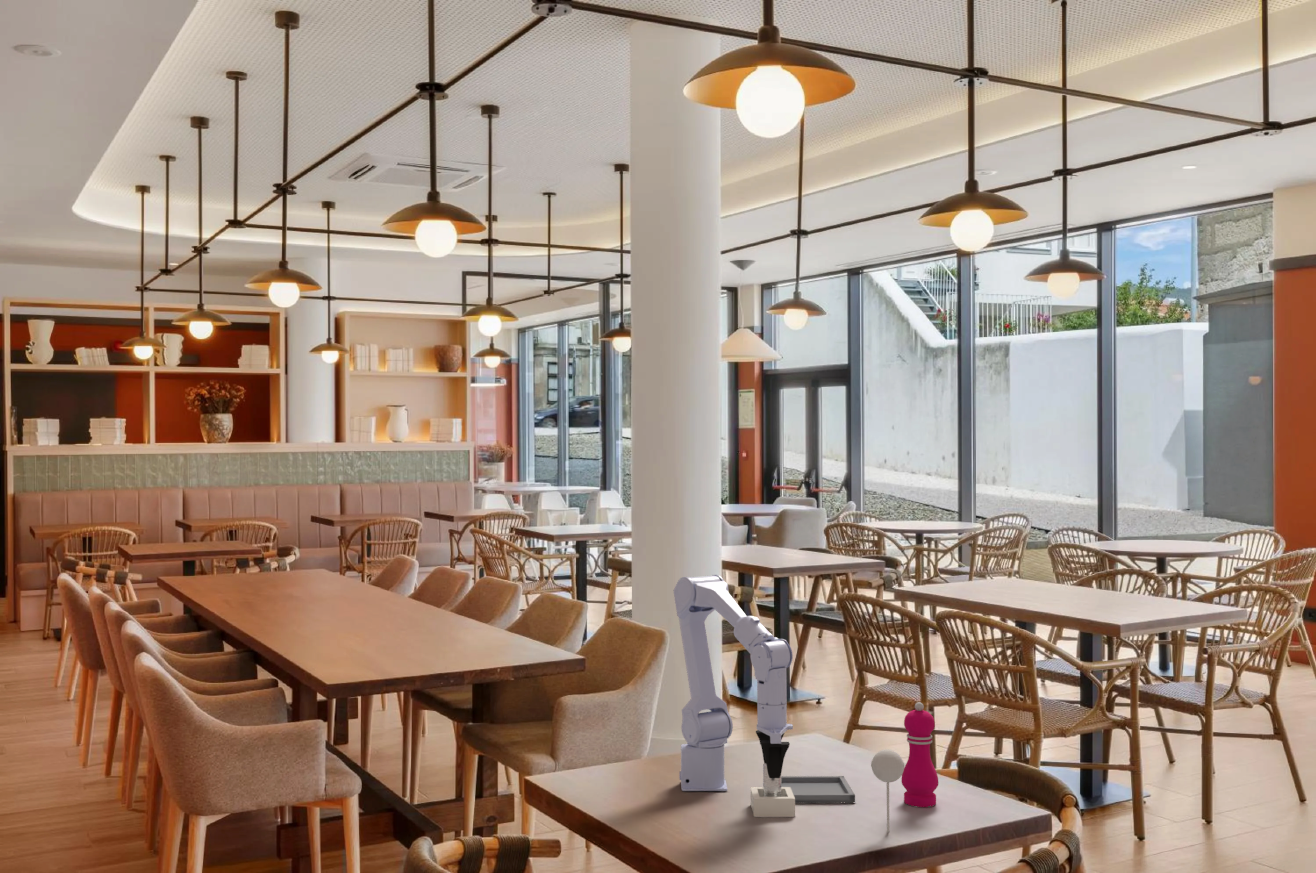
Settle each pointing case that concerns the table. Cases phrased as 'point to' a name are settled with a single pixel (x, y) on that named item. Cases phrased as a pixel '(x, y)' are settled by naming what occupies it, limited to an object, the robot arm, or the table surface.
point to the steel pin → (770, 784)
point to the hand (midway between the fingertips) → (772, 772)
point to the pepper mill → (919, 759)
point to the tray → (819, 789)
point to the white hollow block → (772, 803)
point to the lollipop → (887, 770)
